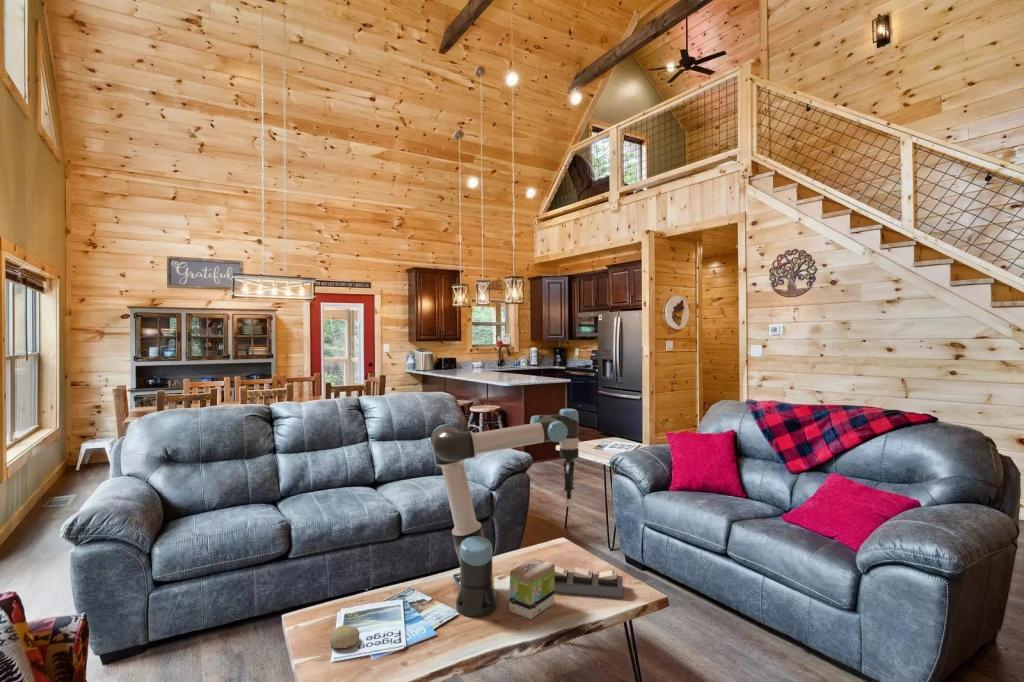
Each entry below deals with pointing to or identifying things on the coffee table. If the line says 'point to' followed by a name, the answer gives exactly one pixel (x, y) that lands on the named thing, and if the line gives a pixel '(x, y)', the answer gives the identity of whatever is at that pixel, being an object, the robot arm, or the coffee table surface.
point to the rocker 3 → (608, 575)
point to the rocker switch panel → (589, 586)
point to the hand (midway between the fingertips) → (569, 506)
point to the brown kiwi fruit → (344, 636)
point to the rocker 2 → (582, 573)
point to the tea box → (532, 587)
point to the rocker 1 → (560, 571)
